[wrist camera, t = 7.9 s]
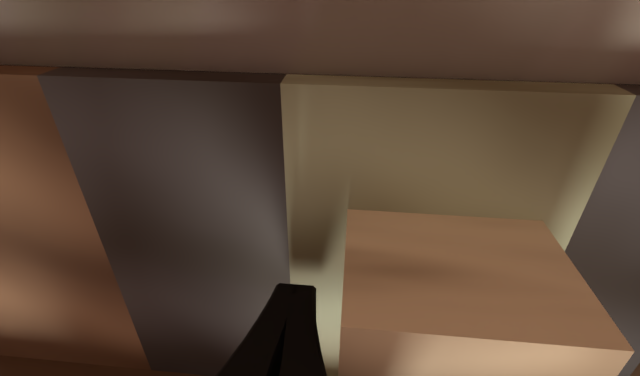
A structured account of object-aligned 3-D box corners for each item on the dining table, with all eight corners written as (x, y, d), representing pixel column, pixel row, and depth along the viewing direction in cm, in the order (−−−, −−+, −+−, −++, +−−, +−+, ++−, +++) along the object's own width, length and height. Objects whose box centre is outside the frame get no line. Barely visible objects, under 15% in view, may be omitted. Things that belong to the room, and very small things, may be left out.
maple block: (494, 344, 14) (541, 481, 11) (341, 331, 15) (333, 457, 11) (542, 220, 11) (634, 351, 8) (347, 209, 12) (340, 326, 8)
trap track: (610, 412, 18) (652, 488, 15) (-10, 352, 20) (-63, 408, 18) (857, 91, 10) (1037, 138, 7) (-226, 58, 12) (-382, 83, 10)
